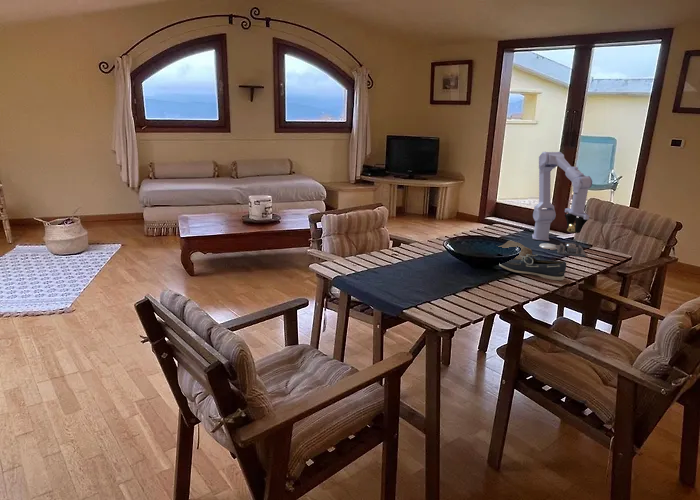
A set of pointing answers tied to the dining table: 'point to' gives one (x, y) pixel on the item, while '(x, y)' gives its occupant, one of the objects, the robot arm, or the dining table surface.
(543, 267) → the boat shoe
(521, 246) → the artifact
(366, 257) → the dining table surface
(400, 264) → the dining table surface
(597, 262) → the dining table surface
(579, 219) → the robot arm
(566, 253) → the post base
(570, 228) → the cap
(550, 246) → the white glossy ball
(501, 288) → the dining table surface
